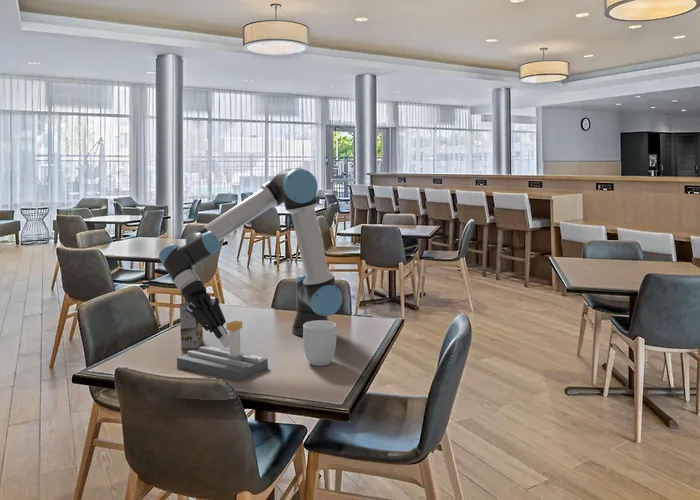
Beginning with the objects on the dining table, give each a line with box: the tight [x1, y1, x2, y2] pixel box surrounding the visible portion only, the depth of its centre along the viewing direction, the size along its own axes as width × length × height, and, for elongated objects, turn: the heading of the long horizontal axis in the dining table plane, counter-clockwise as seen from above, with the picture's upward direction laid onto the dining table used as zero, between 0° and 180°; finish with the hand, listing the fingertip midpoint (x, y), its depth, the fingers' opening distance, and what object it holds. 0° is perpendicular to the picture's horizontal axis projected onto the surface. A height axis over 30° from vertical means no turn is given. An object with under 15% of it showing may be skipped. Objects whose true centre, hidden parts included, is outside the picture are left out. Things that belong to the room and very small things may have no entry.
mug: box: [302, 320, 338, 367], centre depth 187 cm, size 15×11×13 cm
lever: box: [225, 320, 243, 361], centre depth 178 cm, size 4×4×12 cm
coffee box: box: [179, 299, 204, 349], centre depth 205 cm, size 9×6×16 cm
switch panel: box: [176, 345, 269, 382], centre depth 182 cm, size 26×14×4 cm, turn 60°
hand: (228, 344), depth 179 cm, fingers closed
